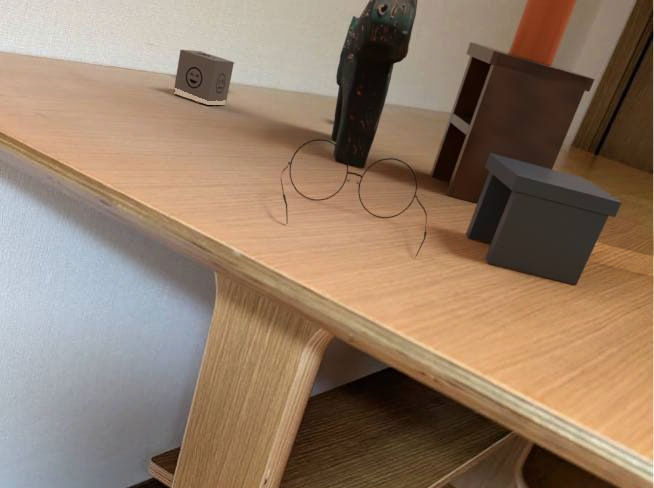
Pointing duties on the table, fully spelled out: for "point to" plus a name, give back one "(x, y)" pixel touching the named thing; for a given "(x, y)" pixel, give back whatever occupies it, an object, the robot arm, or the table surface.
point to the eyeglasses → (357, 183)
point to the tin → (542, 29)
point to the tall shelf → (505, 117)
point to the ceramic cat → (368, 74)
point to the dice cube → (203, 75)
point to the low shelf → (539, 219)
